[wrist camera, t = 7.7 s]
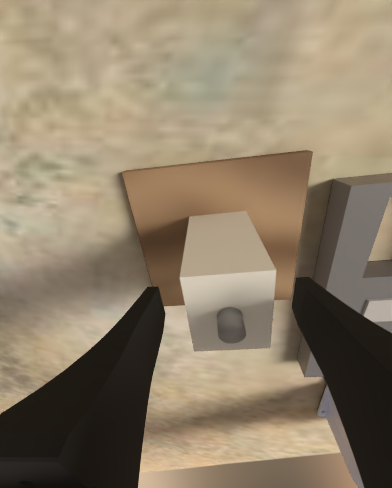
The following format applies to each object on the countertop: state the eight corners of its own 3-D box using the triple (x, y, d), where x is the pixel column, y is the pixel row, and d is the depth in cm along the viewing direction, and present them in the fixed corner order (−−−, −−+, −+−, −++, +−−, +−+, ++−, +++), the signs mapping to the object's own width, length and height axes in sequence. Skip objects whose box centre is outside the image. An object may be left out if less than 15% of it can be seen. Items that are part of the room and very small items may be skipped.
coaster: (288, 292, 19) (291, 299, 18) (159, 300, 20) (157, 306, 19) (307, 150, 13) (312, 151, 13) (125, 170, 14) (121, 172, 14)
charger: (246, 268, 17) (276, 367, 10) (197, 272, 17) (193, 370, 10) (246, 210, 15) (284, 286, 8) (189, 216, 15) (176, 293, 8)
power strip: (391, 355, 23) (412, 380, 21) (297, 358, 24) (307, 383, 21) (497, 162, 13) (557, 169, 11) (333, 178, 14) (357, 188, 12)
